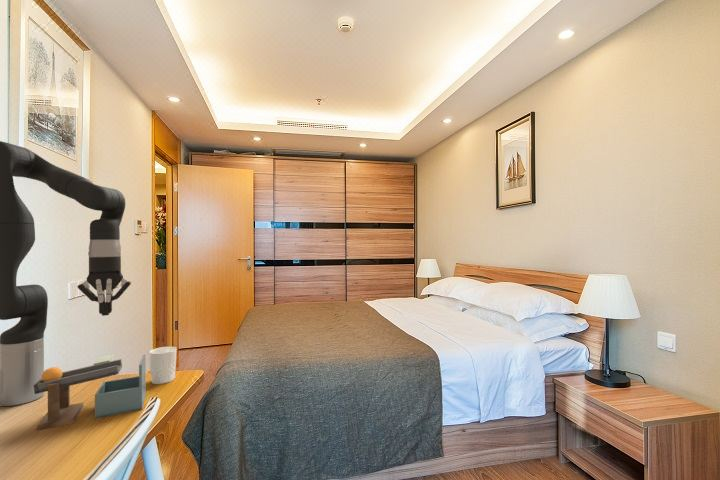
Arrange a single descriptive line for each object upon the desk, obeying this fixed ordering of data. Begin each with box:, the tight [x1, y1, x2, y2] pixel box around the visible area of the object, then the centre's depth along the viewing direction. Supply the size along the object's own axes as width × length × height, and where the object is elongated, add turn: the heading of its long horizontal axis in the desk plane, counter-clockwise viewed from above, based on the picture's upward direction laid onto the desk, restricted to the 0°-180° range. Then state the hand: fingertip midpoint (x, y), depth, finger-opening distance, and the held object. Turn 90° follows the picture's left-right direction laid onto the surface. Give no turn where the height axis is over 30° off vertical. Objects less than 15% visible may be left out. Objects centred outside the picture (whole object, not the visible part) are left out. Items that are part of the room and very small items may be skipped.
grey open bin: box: [94, 354, 147, 419], centre depth 95 cm, size 10×10×12 cm
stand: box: [36, 383, 85, 431], centre depth 89 cm, size 7×10×10 cm
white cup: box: [148, 345, 178, 385], centre depth 113 cm, size 8×8×10 cm
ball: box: [41, 366, 63, 382], centre depth 88 cm, size 4×4×4 cm
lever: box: [33, 353, 123, 394], centre depth 94 cm, size 17×14×3 cm
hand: (105, 315), depth 100 cm, fingers closed
